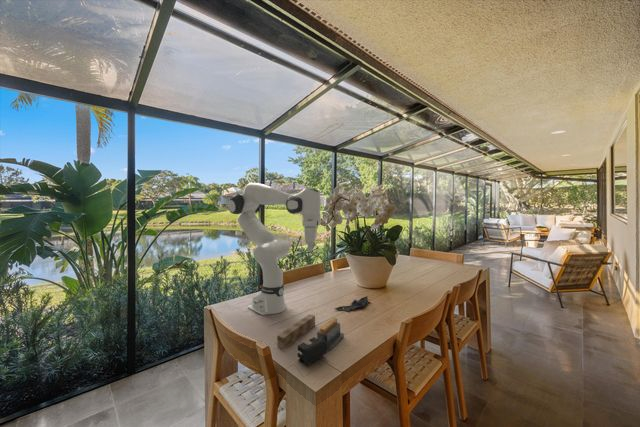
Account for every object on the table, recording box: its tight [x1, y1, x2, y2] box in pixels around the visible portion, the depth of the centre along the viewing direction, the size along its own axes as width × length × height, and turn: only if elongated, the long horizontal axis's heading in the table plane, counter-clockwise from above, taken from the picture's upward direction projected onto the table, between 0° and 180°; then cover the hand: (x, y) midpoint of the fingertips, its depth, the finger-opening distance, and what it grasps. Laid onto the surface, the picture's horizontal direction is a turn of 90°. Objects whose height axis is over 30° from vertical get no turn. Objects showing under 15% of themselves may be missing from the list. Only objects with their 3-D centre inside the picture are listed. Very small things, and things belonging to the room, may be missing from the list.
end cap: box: [297, 337, 328, 366], centre depth 101 cm, size 10×7×7 cm
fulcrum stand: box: [316, 317, 345, 351], centre depth 114 cm, size 8×13×8 cm, turn 149°
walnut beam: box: [276, 313, 316, 350], centre depth 120 cm, size 24×4×5 cm, turn 148°
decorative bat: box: [334, 295, 370, 312], centre depth 151 cm, size 30×4×10 cm
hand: (311, 249), depth 126 cm, fingers open, 8 cm apart
